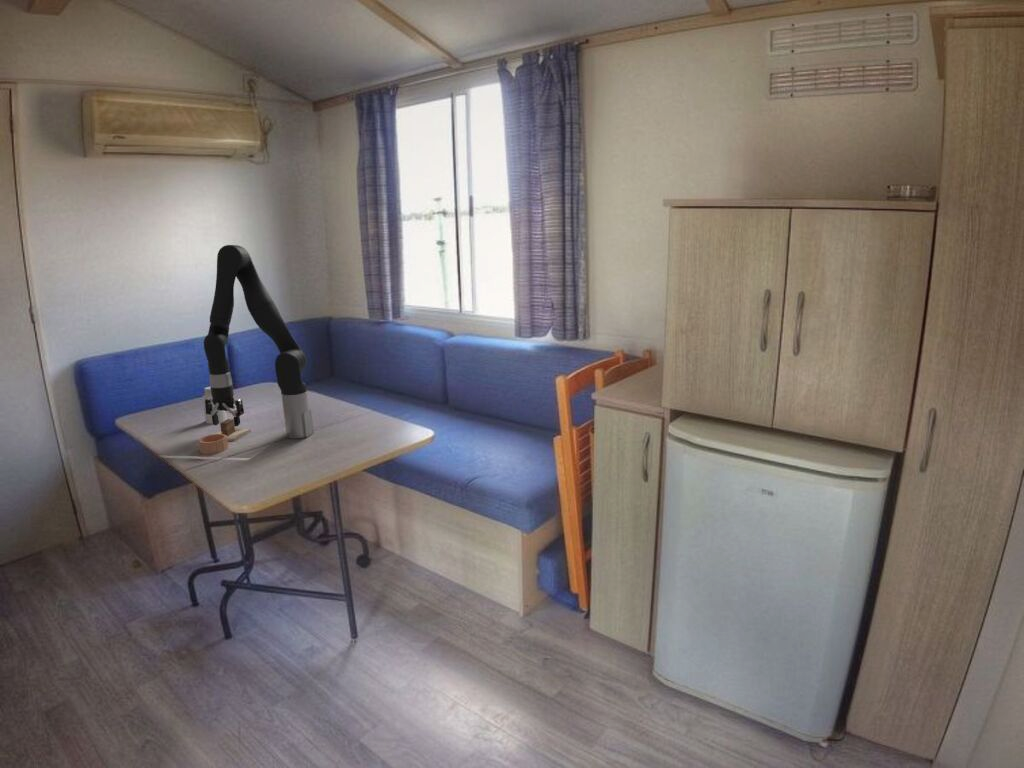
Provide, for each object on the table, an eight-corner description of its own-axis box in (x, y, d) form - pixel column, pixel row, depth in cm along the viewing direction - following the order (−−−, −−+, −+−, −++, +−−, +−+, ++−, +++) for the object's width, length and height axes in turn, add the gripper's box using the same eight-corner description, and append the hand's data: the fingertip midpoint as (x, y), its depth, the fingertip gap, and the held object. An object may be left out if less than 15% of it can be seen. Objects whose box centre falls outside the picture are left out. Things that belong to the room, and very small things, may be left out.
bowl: (233, 447, 225) (231, 434, 224) (219, 456, 217) (217, 443, 215) (210, 446, 227) (208, 433, 225) (195, 455, 218) (193, 442, 217)
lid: (250, 431, 240) (248, 417, 238) (234, 441, 229) (232, 426, 228) (224, 430, 241) (221, 416, 240) (207, 440, 231) (204, 425, 229)
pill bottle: (219, 418, 259) (214, 384, 255) (231, 421, 255) (226, 386, 251) (202, 423, 252) (196, 388, 249) (214, 426, 248) (208, 391, 245)
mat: (252, 432, 240) (252, 430, 240) (235, 443, 229) (234, 441, 229) (223, 431, 242) (223, 430, 242) (205, 442, 230) (205, 440, 230)
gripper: (244, 382, 233) (249, 422, 237) (210, 381, 235) (215, 421, 239) (233, 387, 226) (238, 429, 230) (197, 386, 228) (203, 427, 232)
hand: (226, 425), depth 234 cm, fingers open, 8 cm apart
